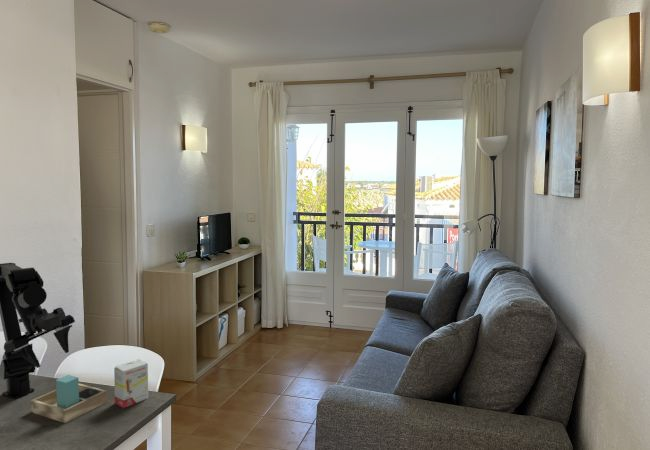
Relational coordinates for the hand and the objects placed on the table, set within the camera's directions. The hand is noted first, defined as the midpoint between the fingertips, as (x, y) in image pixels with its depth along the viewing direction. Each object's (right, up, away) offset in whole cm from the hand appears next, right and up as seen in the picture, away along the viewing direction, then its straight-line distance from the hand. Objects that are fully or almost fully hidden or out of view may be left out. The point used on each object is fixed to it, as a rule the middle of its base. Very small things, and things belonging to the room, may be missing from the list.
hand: (53, 359), depth 142 cm
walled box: (+3, -15, +3) cm, 16 cm away
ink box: (+20, -15, +7) cm, 26 cm away
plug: (+5, -15, -2) cm, 16 cm away
